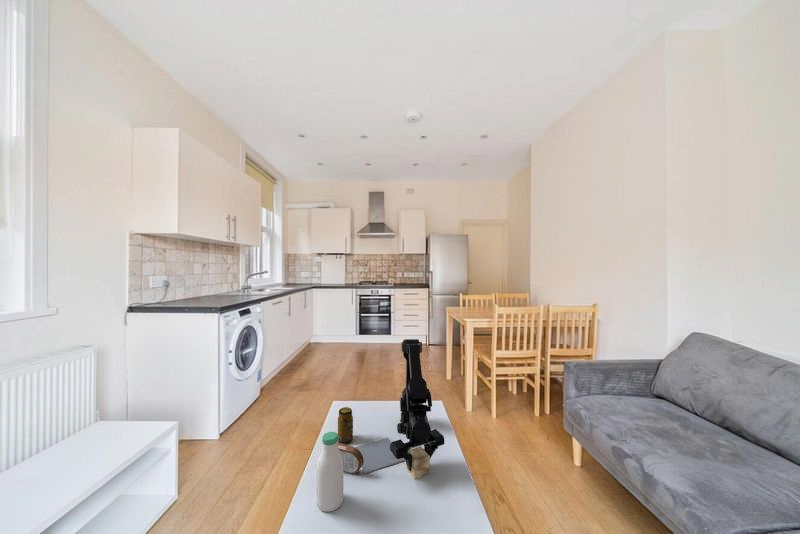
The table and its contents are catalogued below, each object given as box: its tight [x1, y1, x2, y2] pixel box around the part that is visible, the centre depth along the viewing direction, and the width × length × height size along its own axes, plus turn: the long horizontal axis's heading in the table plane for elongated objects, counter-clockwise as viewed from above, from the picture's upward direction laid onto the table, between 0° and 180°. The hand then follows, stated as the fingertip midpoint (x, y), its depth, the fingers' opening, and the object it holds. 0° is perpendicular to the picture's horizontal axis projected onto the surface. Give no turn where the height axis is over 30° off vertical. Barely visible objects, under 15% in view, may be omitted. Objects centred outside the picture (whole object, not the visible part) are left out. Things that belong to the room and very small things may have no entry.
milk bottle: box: [316, 431, 344, 513], centre depth 88 cm, size 8×8×20 cm
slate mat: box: [354, 437, 406, 475], centre depth 110 cm, size 15×15×1 cm
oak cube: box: [405, 445, 431, 480], centre depth 102 cm, size 6×6×6 cm
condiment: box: [337, 406, 360, 446], centre depth 119 cm, size 7×8×12 cm
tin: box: [337, 443, 364, 475], centre depth 102 cm, size 15×3×8 cm, turn 71°
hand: (417, 467), depth 102 cm, fingers closed on oak cube, 6 cm apart
